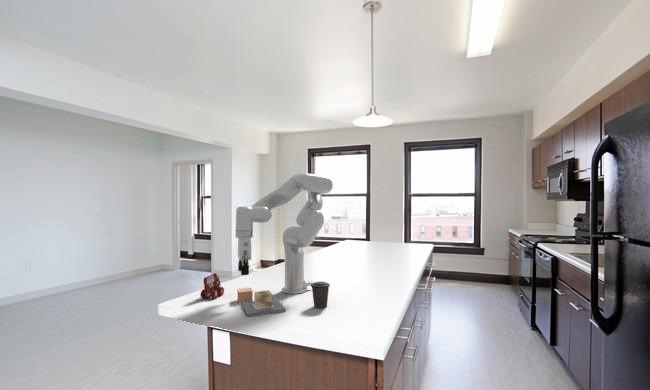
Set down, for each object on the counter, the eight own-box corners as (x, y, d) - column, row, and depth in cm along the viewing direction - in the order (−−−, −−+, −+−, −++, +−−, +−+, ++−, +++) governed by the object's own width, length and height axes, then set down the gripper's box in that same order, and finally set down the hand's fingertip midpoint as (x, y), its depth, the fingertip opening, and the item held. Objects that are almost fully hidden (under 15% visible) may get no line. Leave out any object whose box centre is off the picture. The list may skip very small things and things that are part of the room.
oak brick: (268, 302, 134) (268, 290, 135) (271, 306, 129) (271, 293, 129) (254, 304, 132) (254, 291, 132) (257, 308, 127) (257, 295, 127)
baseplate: (276, 301, 140) (276, 298, 140) (285, 311, 126) (285, 308, 126) (242, 305, 134) (242, 302, 134) (247, 316, 121) (247, 313, 121)
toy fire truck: (226, 293, 153) (226, 271, 154) (211, 301, 141) (211, 277, 141) (213, 292, 155) (213, 271, 155) (198, 300, 143) (198, 277, 143)
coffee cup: (316, 311, 126) (315, 285, 127) (307, 305, 134) (307, 281, 134) (333, 307, 130) (333, 283, 130) (324, 302, 137) (324, 279, 138)
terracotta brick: (251, 298, 145) (251, 287, 145) (252, 302, 139) (252, 291, 139) (237, 300, 143) (237, 289, 143) (238, 304, 137) (238, 292, 137)
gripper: (256, 235, 135) (255, 276, 134) (249, 232, 151) (248, 268, 150) (237, 235, 132) (236, 277, 131) (233, 232, 148) (232, 269, 147)
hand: (243, 272), depth 141 cm, fingers open, 9 cm apart
